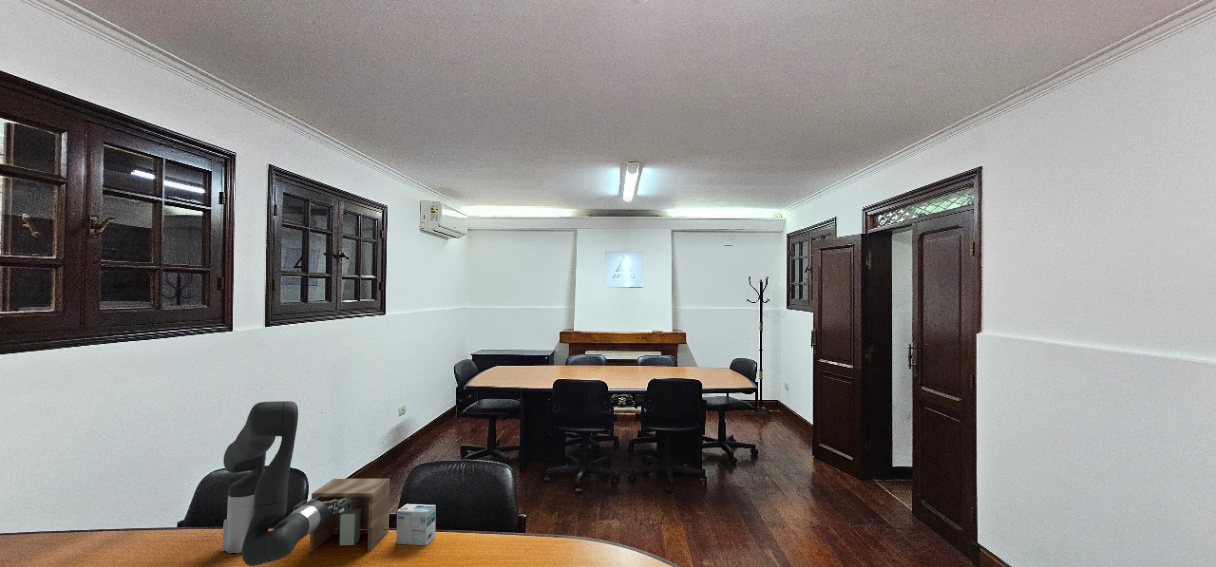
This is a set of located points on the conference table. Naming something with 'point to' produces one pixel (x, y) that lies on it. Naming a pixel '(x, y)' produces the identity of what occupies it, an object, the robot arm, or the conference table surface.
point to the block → (350, 527)
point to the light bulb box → (416, 524)
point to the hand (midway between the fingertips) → (335, 498)
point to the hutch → (363, 495)
